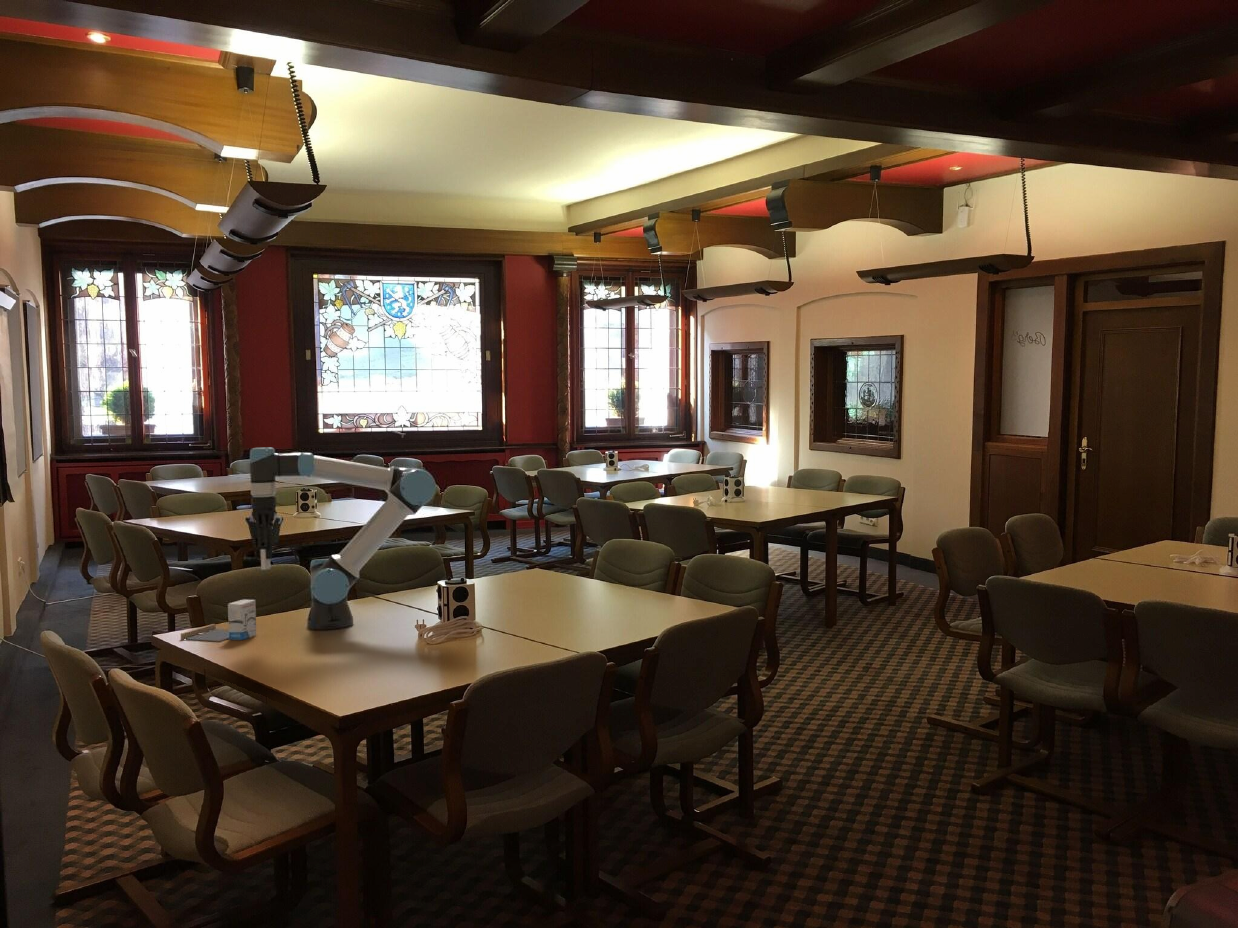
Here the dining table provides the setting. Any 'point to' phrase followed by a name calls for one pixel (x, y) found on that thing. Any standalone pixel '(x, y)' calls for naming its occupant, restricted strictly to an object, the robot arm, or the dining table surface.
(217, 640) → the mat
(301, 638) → the dining table surface
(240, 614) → the ink box
